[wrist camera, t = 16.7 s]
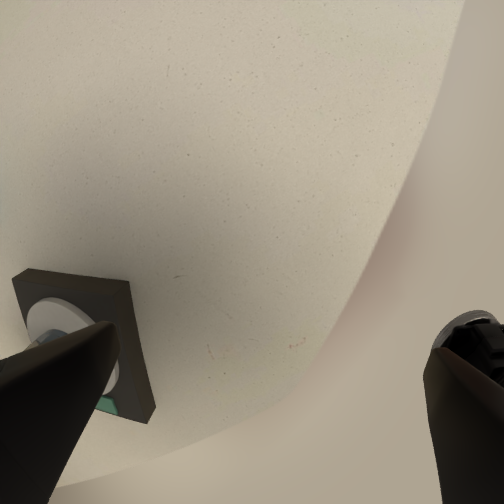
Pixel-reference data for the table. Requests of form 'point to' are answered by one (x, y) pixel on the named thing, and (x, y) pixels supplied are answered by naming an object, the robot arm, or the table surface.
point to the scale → (85, 314)
